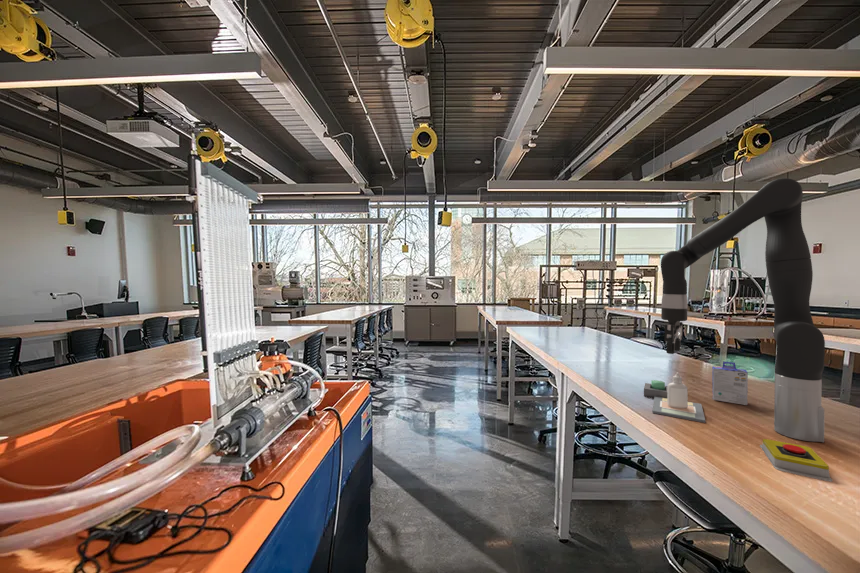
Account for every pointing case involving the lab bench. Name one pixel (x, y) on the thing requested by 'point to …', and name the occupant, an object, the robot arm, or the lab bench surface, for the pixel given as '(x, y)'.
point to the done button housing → (654, 391)
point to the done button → (657, 385)
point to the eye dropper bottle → (677, 393)
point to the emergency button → (796, 459)
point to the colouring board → (678, 410)
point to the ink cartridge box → (730, 384)
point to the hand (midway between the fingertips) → (673, 352)
